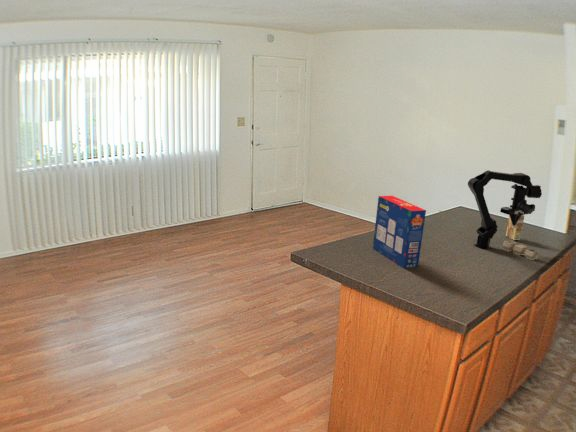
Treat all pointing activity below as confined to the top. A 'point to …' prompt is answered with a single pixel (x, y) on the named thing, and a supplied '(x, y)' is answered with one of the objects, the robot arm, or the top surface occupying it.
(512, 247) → the two mark block
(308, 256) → the top surface
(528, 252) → the three mark block
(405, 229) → the blue toy box
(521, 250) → the plain block
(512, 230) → the candy box
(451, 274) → the top surface
